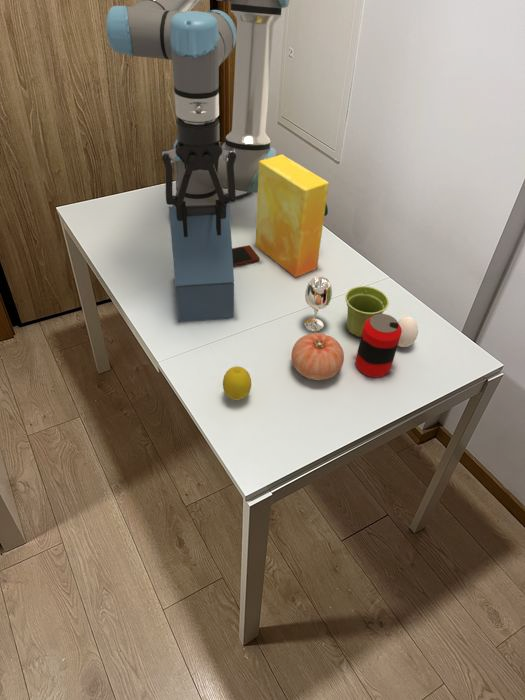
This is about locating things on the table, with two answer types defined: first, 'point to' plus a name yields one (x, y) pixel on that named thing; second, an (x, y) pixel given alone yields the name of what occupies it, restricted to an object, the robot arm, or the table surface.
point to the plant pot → (363, 306)
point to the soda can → (378, 345)
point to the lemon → (237, 383)
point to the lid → (201, 247)
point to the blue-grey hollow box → (205, 301)
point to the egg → (407, 331)
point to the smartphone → (244, 255)
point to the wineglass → (317, 300)
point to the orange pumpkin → (317, 356)
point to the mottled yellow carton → (290, 214)
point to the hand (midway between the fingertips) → (202, 232)
